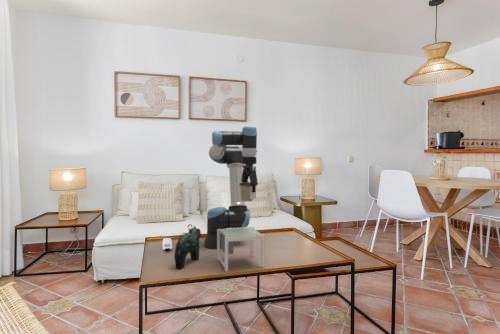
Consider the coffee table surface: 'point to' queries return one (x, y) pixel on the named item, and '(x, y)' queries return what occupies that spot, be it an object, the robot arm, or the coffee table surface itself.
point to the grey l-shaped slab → (232, 234)
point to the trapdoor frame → (240, 238)
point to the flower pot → (245, 191)
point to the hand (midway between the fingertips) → (248, 197)
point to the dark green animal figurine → (187, 246)
